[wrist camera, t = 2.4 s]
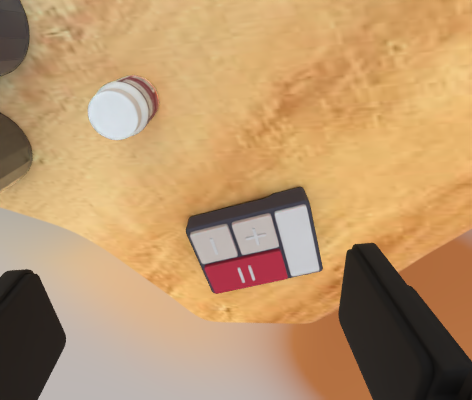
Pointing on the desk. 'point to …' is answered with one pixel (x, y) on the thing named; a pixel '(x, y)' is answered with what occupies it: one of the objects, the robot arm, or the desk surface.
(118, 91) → the pill bottle
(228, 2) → the desk surface
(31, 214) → the desk surface
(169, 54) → the desk surface
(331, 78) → the desk surface
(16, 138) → the cup
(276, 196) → the calculator
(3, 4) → the tin
